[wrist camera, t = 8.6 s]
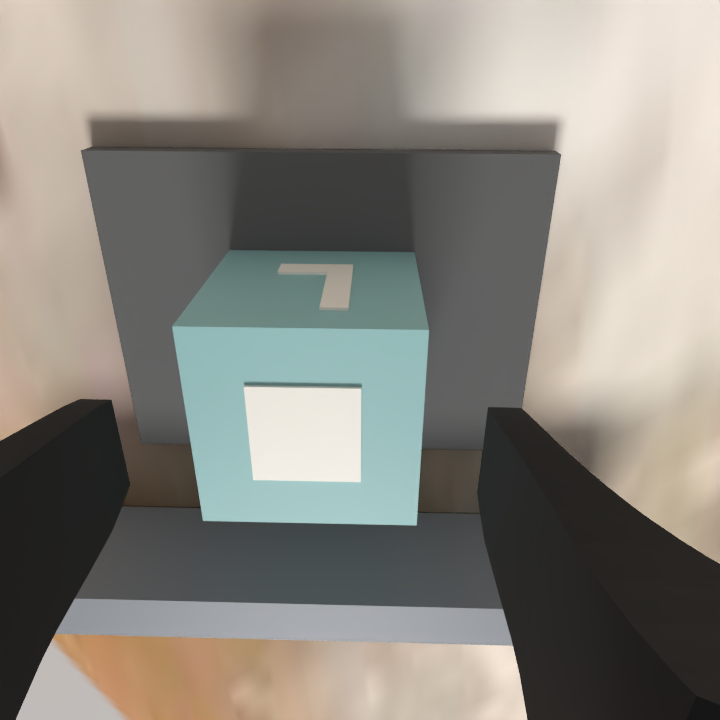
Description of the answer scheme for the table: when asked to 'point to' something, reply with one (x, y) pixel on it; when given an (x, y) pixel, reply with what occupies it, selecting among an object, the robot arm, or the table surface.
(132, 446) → the table surface
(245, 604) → the panel
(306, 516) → the letter cube
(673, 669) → the robot arm
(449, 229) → the mat
